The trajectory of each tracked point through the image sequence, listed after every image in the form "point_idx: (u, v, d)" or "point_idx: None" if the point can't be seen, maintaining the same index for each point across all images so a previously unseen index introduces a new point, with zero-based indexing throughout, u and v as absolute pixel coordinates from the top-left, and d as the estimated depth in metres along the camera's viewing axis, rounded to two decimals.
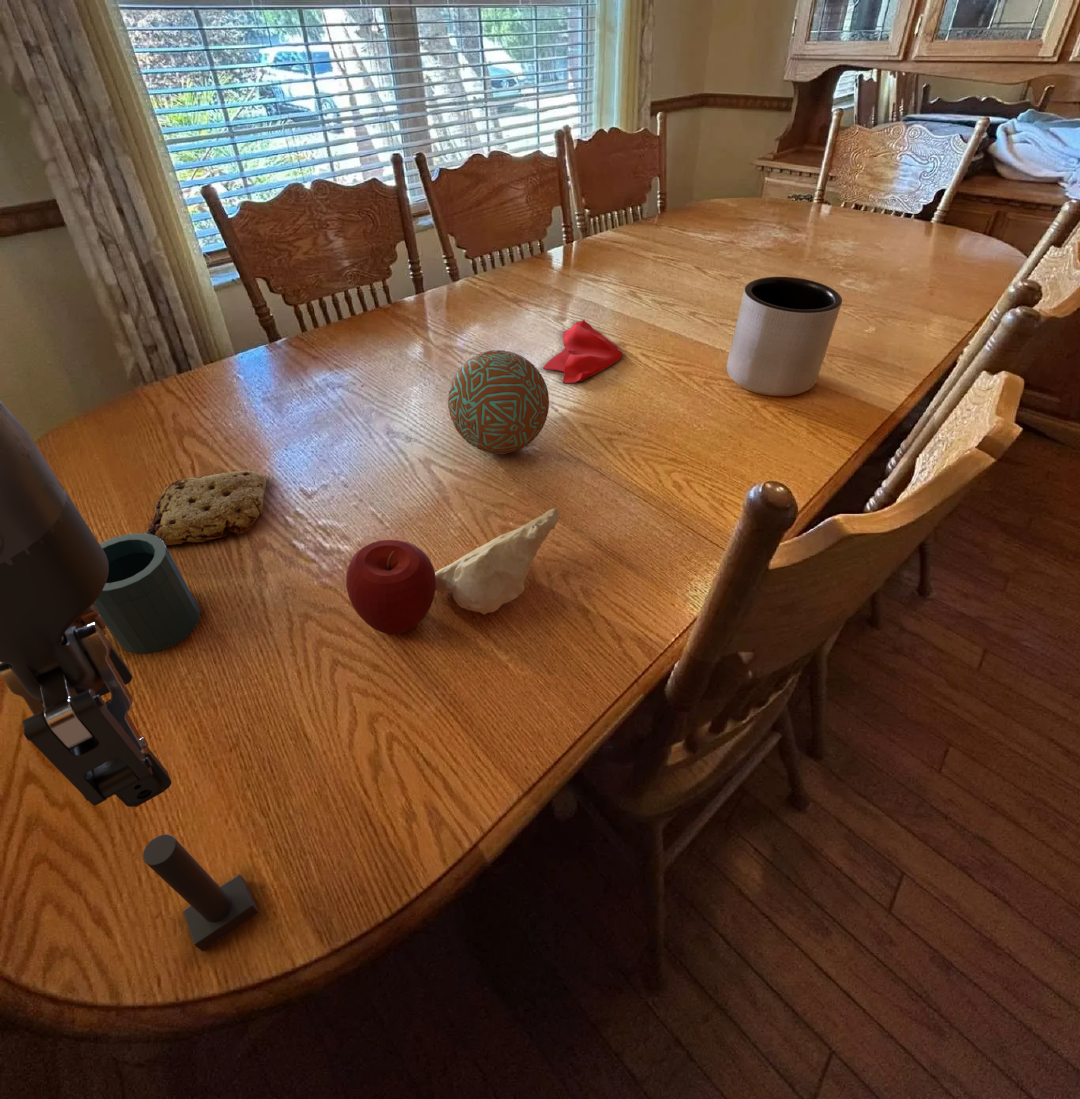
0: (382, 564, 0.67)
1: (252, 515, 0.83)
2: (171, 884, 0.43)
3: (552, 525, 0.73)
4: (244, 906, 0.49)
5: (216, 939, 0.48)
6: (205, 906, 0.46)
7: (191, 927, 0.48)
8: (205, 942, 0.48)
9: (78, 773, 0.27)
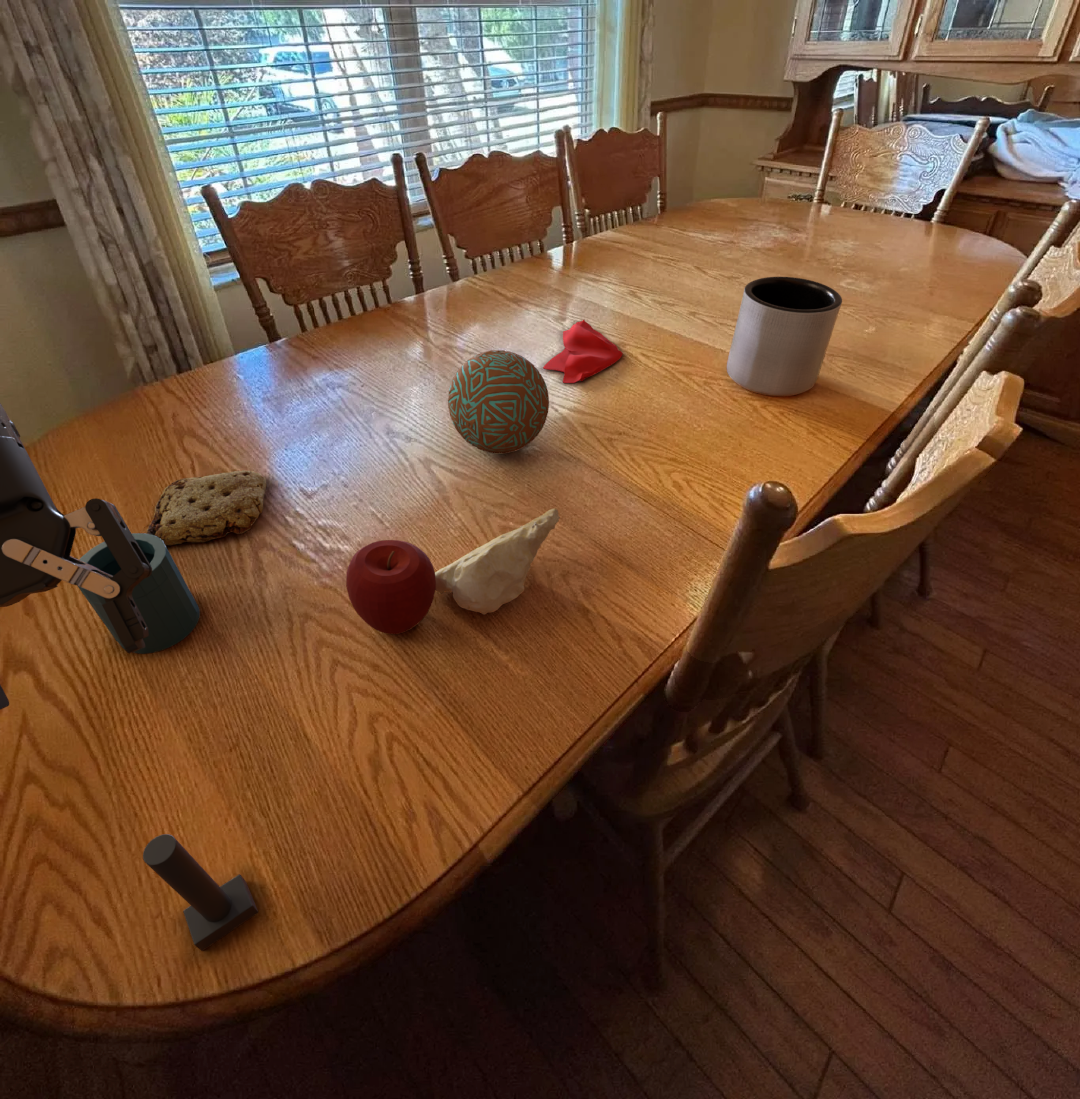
0: (382, 564, 0.67)
1: (252, 515, 0.83)
2: (171, 884, 0.43)
3: (552, 525, 0.73)
4: (244, 906, 0.49)
5: (216, 939, 0.48)
6: (205, 906, 0.46)
7: (191, 927, 0.48)
8: (205, 942, 0.48)
9: (128, 539, 0.43)
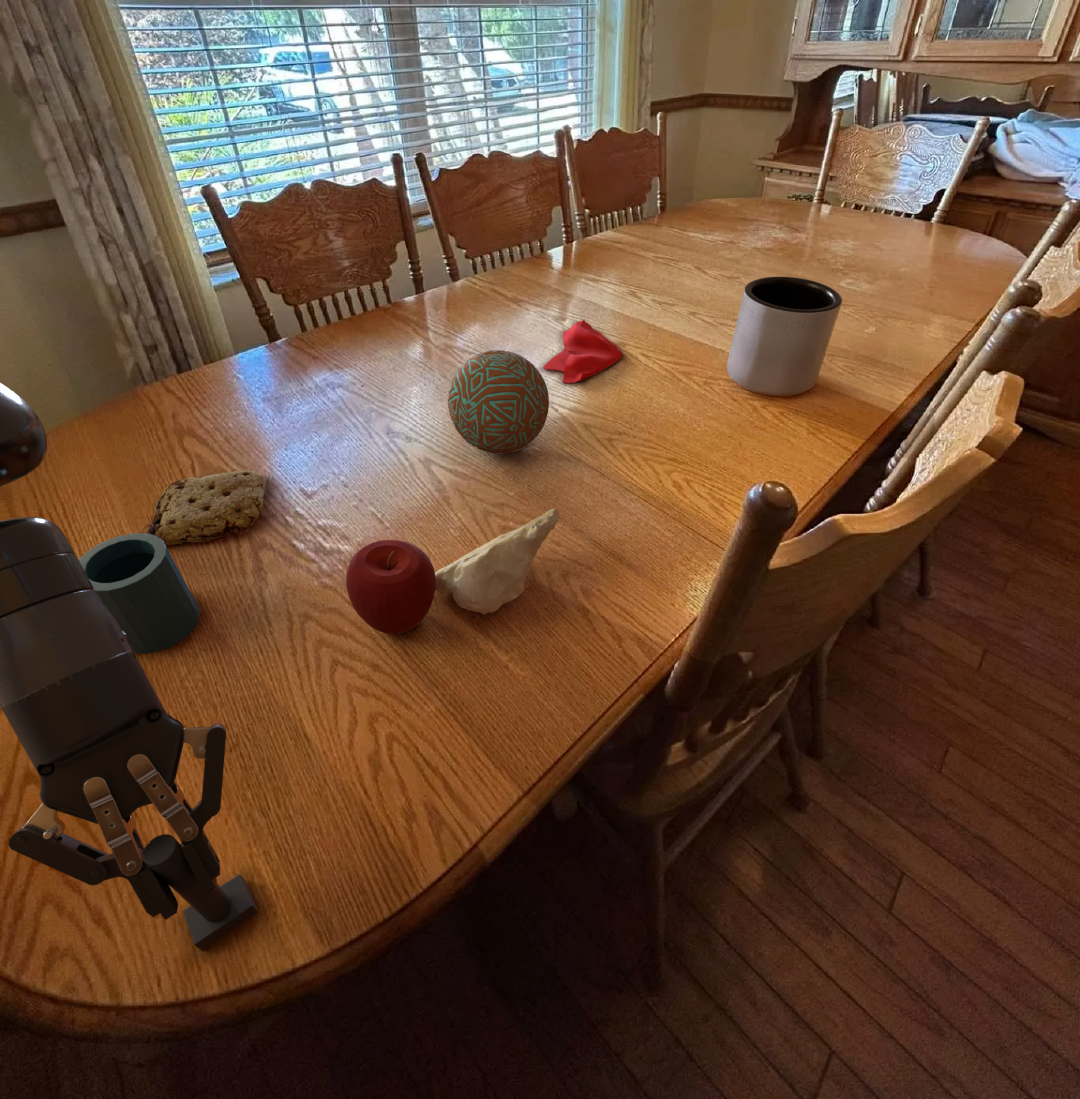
0: (382, 564, 0.67)
1: (252, 515, 0.83)
2: (171, 884, 0.43)
3: (552, 525, 0.73)
4: (244, 906, 0.49)
5: (216, 939, 0.48)
6: (205, 906, 0.46)
7: (191, 927, 0.48)
8: (205, 942, 0.48)
9: None
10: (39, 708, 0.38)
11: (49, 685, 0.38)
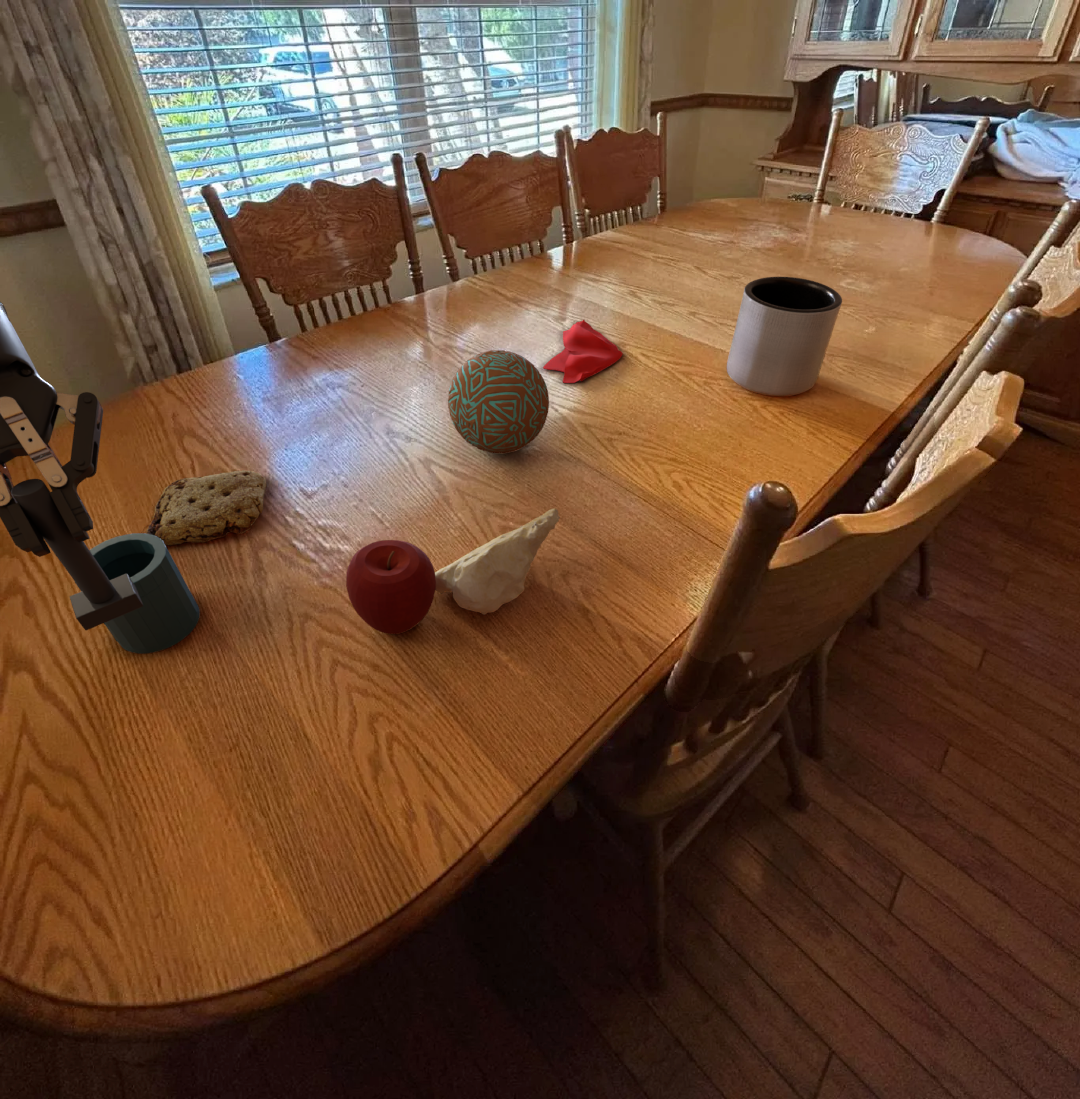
0: (382, 564, 0.67)
1: (252, 515, 0.83)
2: (43, 532, 0.46)
3: (552, 525, 0.73)
4: (128, 594, 0.52)
5: (100, 621, 0.51)
6: (84, 576, 0.49)
7: (75, 607, 0.51)
8: (88, 620, 0.51)
9: (94, 437, 0.47)
10: None
11: None
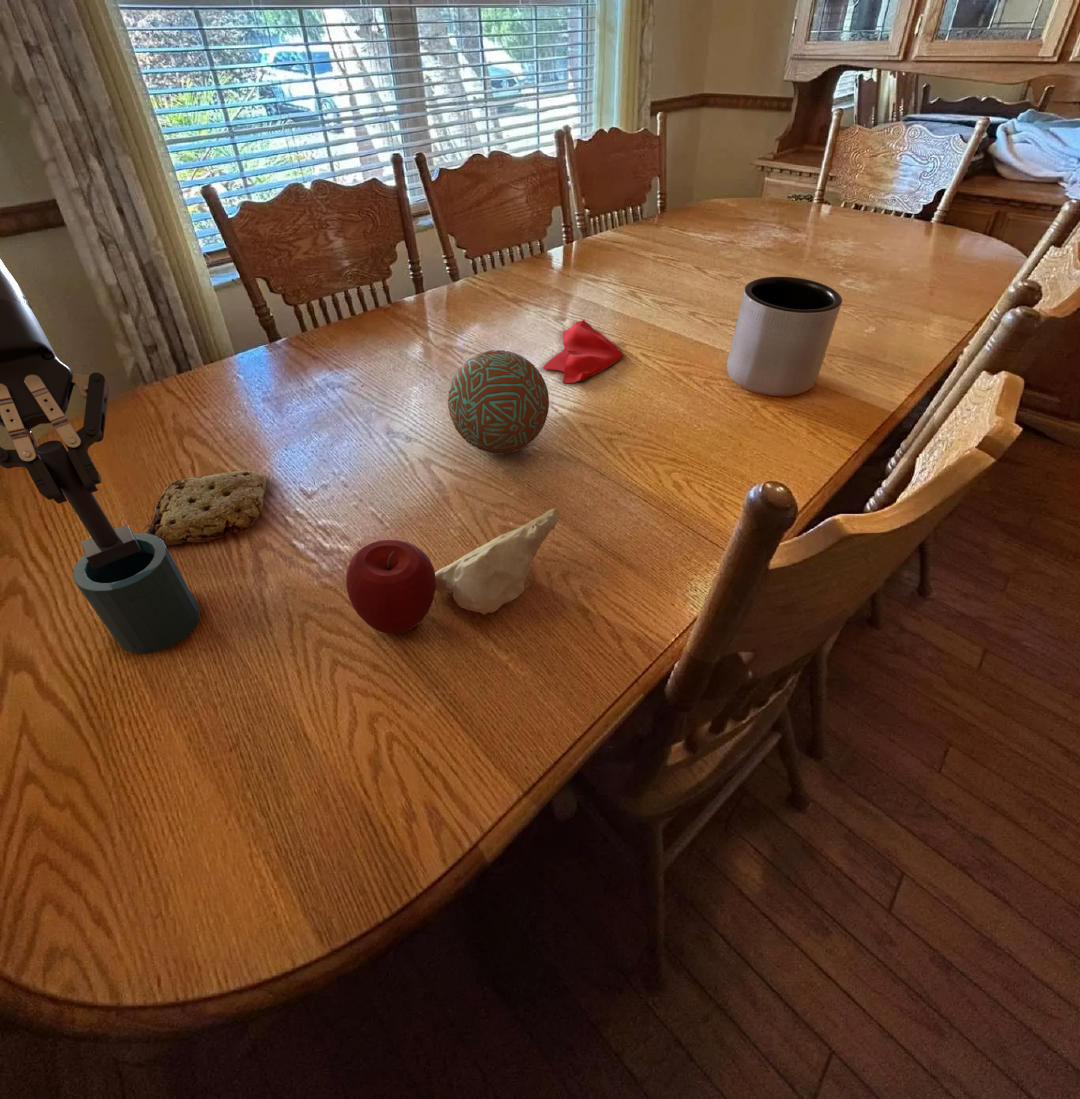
0: (382, 564, 0.67)
1: (252, 515, 0.83)
2: (61, 484, 0.57)
3: (552, 525, 0.73)
4: (128, 539, 0.63)
5: (105, 562, 0.63)
6: (93, 523, 0.60)
7: (85, 549, 0.62)
8: (95, 560, 0.62)
9: (102, 409, 0.58)
10: None
11: None
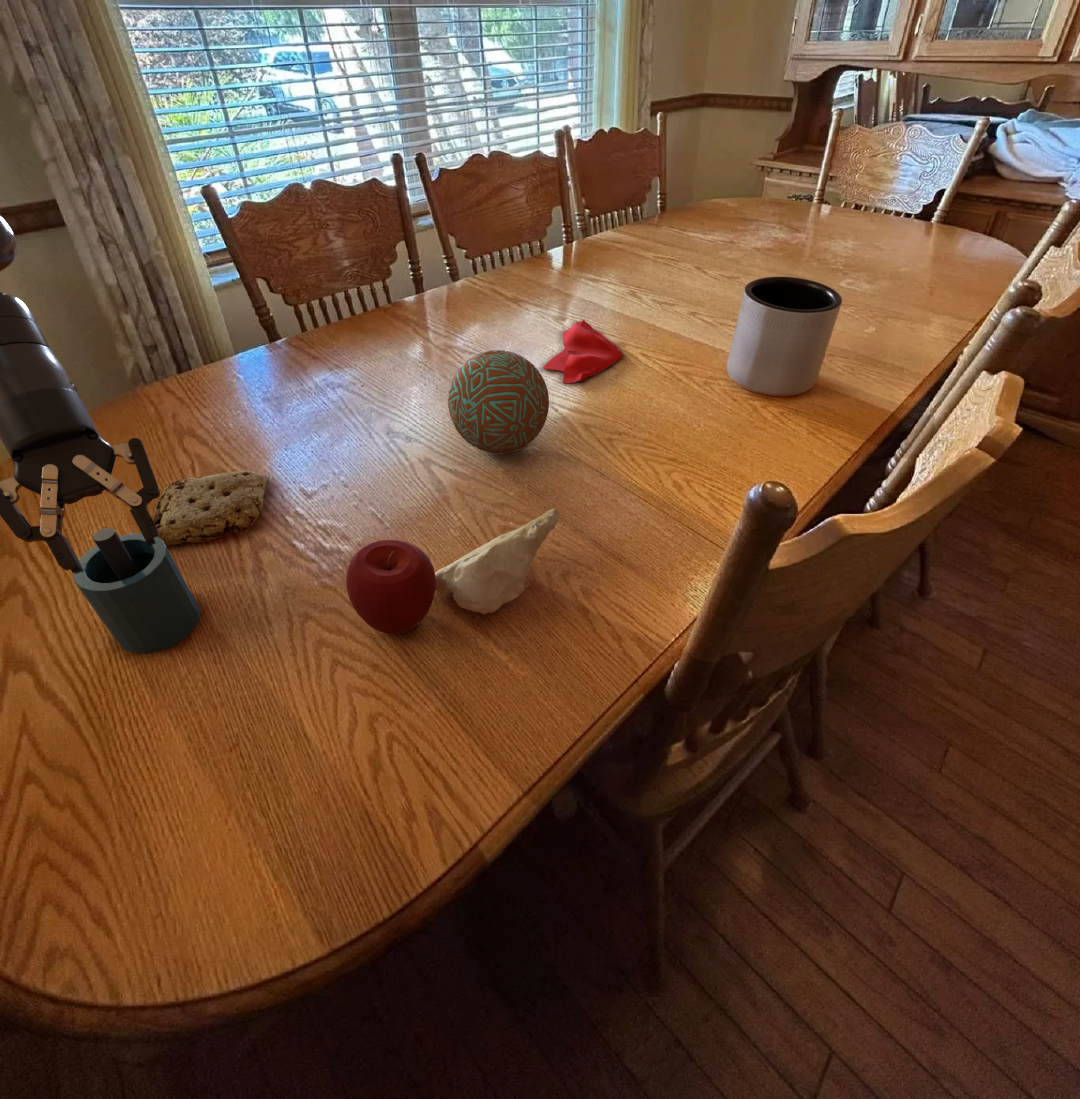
0: (382, 564, 0.67)
1: (252, 515, 0.83)
2: (113, 565, 0.64)
3: (552, 525, 0.73)
4: None
5: None
6: None
7: None
8: None
9: (151, 468, 0.65)
10: (12, 408, 0.58)
11: (19, 394, 0.58)
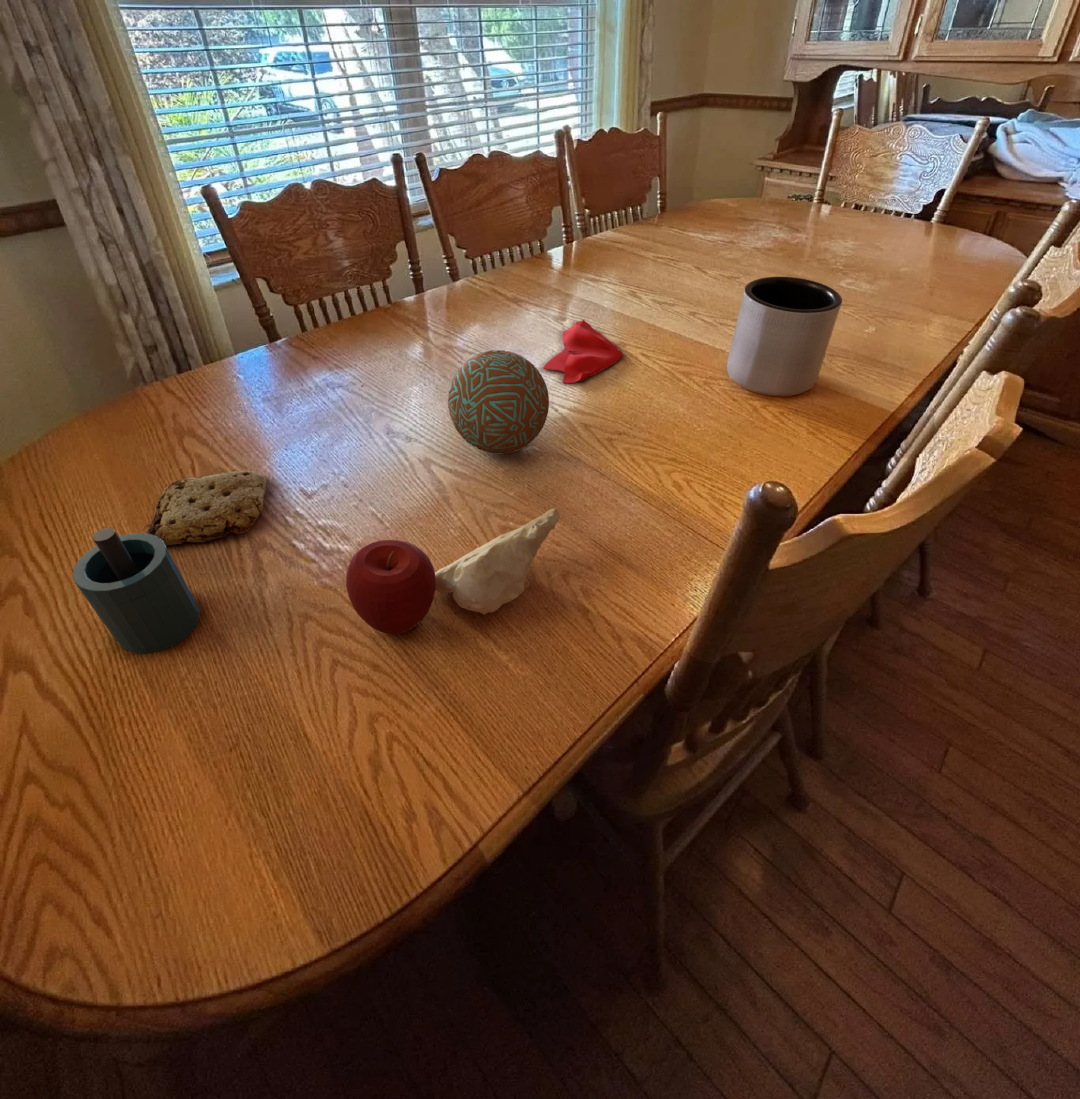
0: (382, 564, 0.67)
1: (252, 515, 0.83)
2: (113, 565, 0.64)
3: (552, 525, 0.73)
4: None
5: None
6: None
7: None
8: None
9: None
10: None
11: None
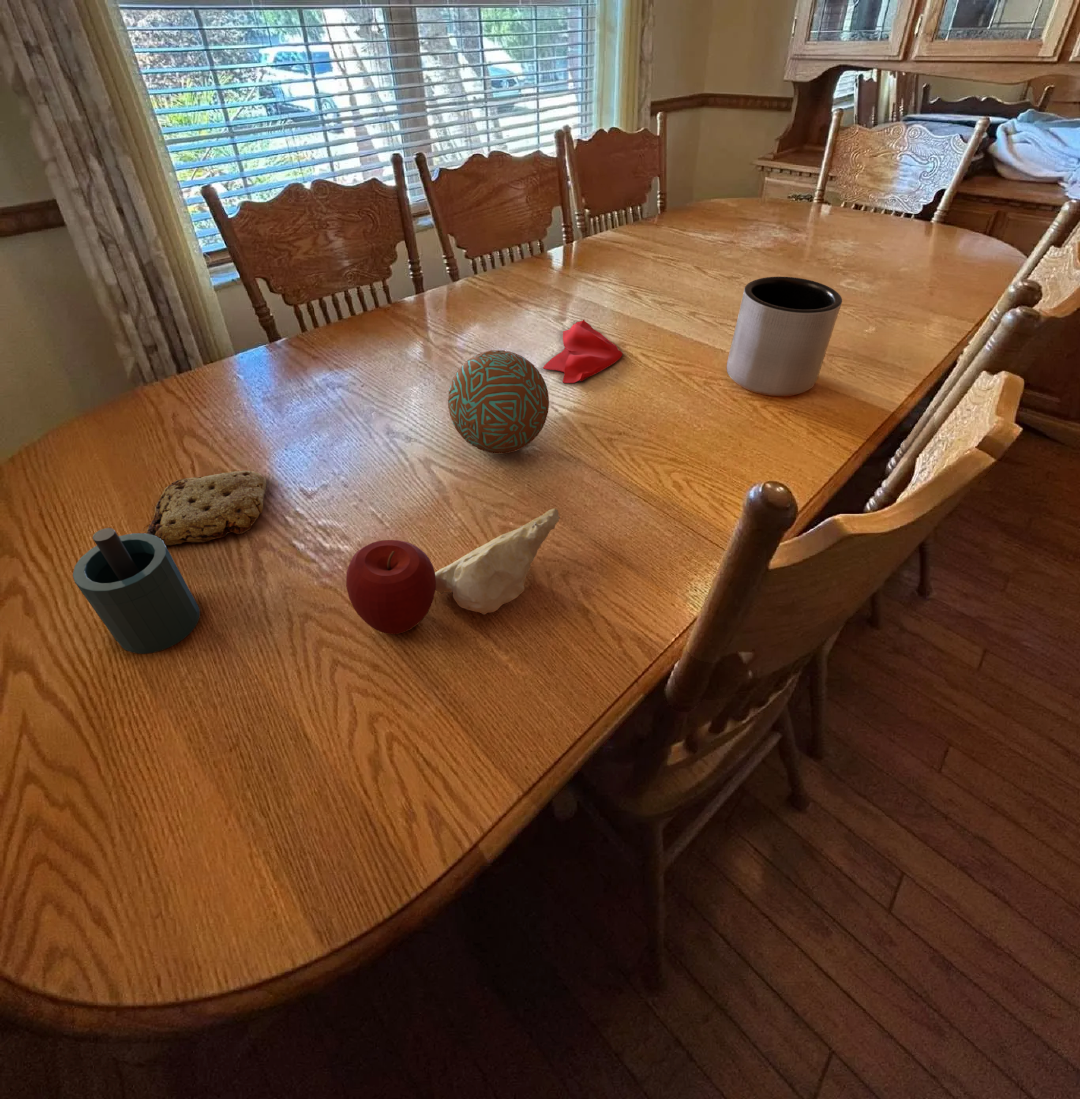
0: (382, 564, 0.67)
1: (252, 515, 0.83)
2: (113, 565, 0.64)
3: (552, 525, 0.73)
4: None
5: None
6: None
7: None
8: None
9: None
10: None
11: None
